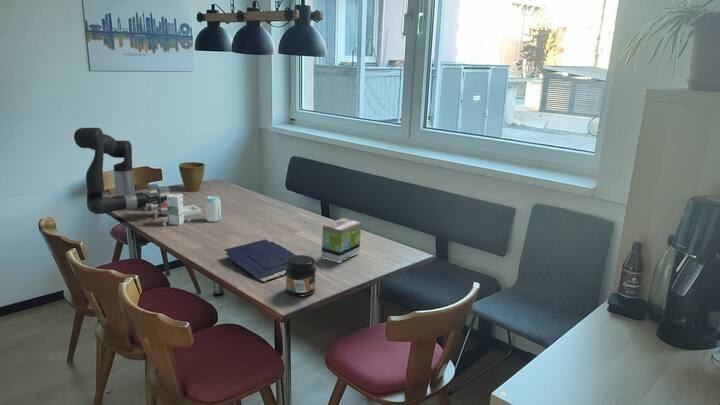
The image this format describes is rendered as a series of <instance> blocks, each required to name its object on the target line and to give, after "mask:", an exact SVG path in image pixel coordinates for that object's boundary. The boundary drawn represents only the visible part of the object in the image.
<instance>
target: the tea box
mask: <svg viewBox="0 0 720 405" xmlns="http://www.w3.org/2000/svg"><path fill="white" fill-rule="evenodd" d="M361 230H362V222H360V221H356V220H352V219H349V218H344V217H342V218H340V219H337V220H334V221H332V222H329V223H327V224H324V225H323V226H322V234H321V235H322V238H321V257H323V258H328V259H331V260H335V261H342V260H344V259H346V258H348V257H350V256H352V255H354V254H356V253H357V252H359V253H360V246H361V232H362V231H361Z"/></svg>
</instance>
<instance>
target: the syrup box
mask: <svg viewBox="0 0 720 405" xmlns="http://www.w3.org/2000/svg"><path fill="white" fill-rule="evenodd" d="M183 206H184V195H183V193H170V194H169V195H168V196H167V211H168V213H167V224H168V225H170V226H180V225H182V224H183V223H184V222H185V217H184V213H183Z"/></svg>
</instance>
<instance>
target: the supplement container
mask: <svg viewBox="0 0 720 405" xmlns="http://www.w3.org/2000/svg"><path fill="white" fill-rule="evenodd" d="M295 255H296V254H295ZM315 265H316V259H315V258H314V257H312V256H310V255H307V254H306V255H305V254H297V255H296V256H292V257H290V258H289V259H288V266H287V268H286V275H285V276H286V278H285V279H286V281H285V282H286V283H285V284H286V285H285V286H286V287H285V289H286V292H287V293H288V292H289V293H291V294H294V295H306V294H310V293H312V292H313V293H315V291H316V278H317V276H316V272H317V268H316V266H315ZM289 293H288V294H289ZM313 293H312V294H313ZM291 294H290V295H291ZM294 295H293V296H294ZM310 295H311V294H310Z"/></svg>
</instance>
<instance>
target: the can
mask: <svg viewBox="0 0 720 405" xmlns="http://www.w3.org/2000/svg"><path fill="white" fill-rule="evenodd" d="M221 209H222V208H221V199H220V197H219V196H217V195H209V196H207V197H206V198H205V220H206V221H208V222H210V223H217V222H219V221H220V220H222V215H221V211H222V210H221Z"/></svg>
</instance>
